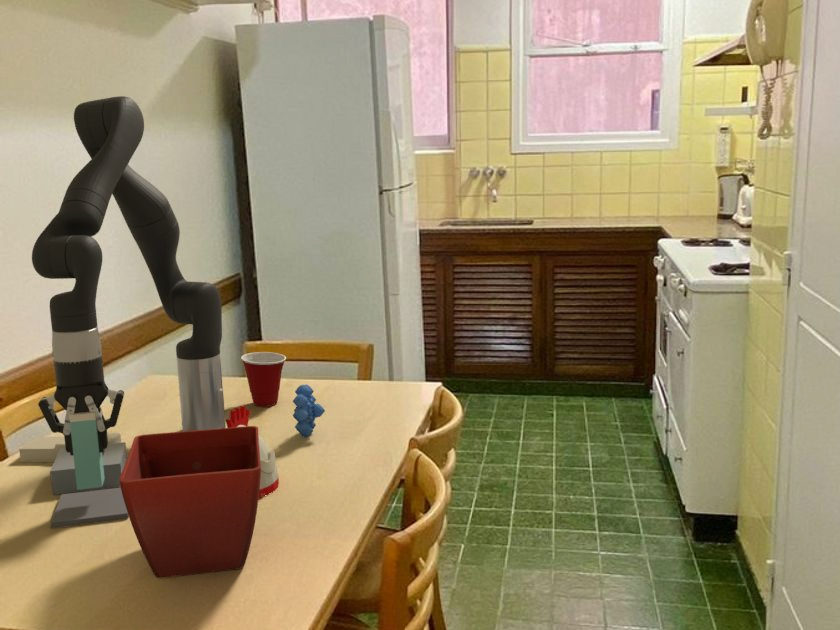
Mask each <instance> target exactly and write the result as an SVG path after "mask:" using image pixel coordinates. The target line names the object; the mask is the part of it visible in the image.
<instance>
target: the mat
mask: <svg viewBox="0 0 840 630" xmlns="http://www.w3.org/2000/svg"><path fill="white" fill-rule="evenodd" d="M128 519H129V515H128V512H127V509H126V505H125V502H124V499H123V495H122V491H121V487H114V488H106V489H97V490H89V491H80V492H72V493H63V494H60V497H59V500H58V503H57V505H56V508H55V510H54V513H53V516H52V518H51V520H50V521H51V522H50V529H57V528H58V529H59V528H66V527H72V526H73V527H74V526H82V525H89V524H97V523H104V522H105V523H106V522H113V521H121V520H128Z"/></svg>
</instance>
